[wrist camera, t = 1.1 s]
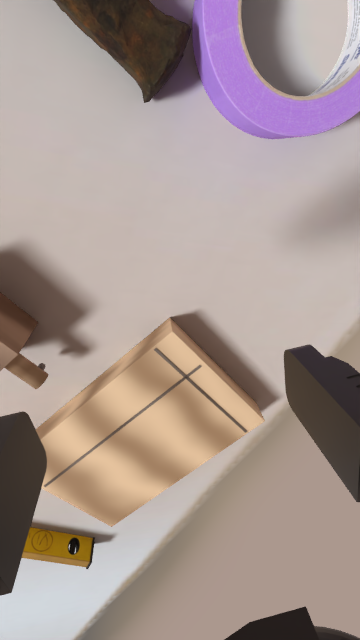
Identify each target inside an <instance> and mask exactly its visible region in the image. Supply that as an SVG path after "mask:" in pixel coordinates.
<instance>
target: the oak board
mask: <svg viewBox="0 0 360 640" xmlns="http://www.w3.org/2000/svg"><path fill="white" fill-rule="evenodd" d="M264 421H265V420H264V418H263V416H262V414H261V412H260V410H259V408H258V405H257V403H256V402H255V401H254V400H253V399H252V398H251V397H250V396H249V395H248V394H247V393H246V392H245V391H244V390H243V389H242V388H241V387H240V386H239V385H238V384H237V383H236V382H234V381H233V380H232V379H231V378H230V377H229V376H228V375H227V374H226V373H225V372H224V371H223V370H222V369H221V368H220V367H219V366H218V365H217V364H216V363H215V362H214V361H213V360H212V359H211V358H210V357H209V356H208V355H207V354H206V353H205V352H204V351H203V350H202V349H201V348H200V347H199V346H198V345H197V344H196V343H195V342H194V341H193V340H192V339H191V338H190V337H189V336H188V335H187V334H186V333H185V332H184V331H183V330H182V329H181V328H180V327H179V326H178V325H177V324H176V323H175V322H174V321H173V320H172V319H171V318H169V319H167V320H166V321H165V322H164V323H163V324H161V325H160V326H159V327H158V328H157V329H155V330H154V331H153V332H152V333H151V334H149V335H148V336H147V337H146V338H145V339H143V340H142V341H141V342H140V343H139V344H137V345H136V346H135V347H134V348H133V349H132V350H130V351H129V352H128V353H127V354H126V355H124V356H123V357H122V358H121V359H120V360H118V361H117V362H116V363H115V364H114V365H112V366H111V367H110V368H109V369H108V370H106V371H105V372H104V373H103V374H102V375H100V376H99V377H98V378H97V379H96V380H94V381H93V382H92V383H91V384H90V385H88V386H87V387H86V388H85V389H84V390H82V391H81V392H80V393H79V394H78V395H77V396H75V397H74V398H73V399H72V400H71V401H69V402H68V403H67V404H66V405H65V406H63V407H62V408H61V409H60V410H59V411H57V412H56V413H55V414H54V415H53V416H51V417H50V418H49V419H48V420H47V421H45V422H44V423H43V424H42V425H41V426H39V427H38V428H37V429H36V432H37V434H38V436H39V438H40V440H41V442H42V444H43V446H44V449H45V451H46V456H47V469H46V473H45V477H44V480H43V484H42V487H41V488H42V489H44V490H46V491H48V492H50V493H51V494H53V495H55V496H57V497H59V498H60V499H62V500H64V501H66V502H68V503H69V504H71V505H73V506H75V507H77V508H78V509H80V510H82V511H84V512H86V513H88V514H89V515H91V516H93V517H95V518H97V519H98V520H100V521H102V522H104V523H106V524H107V525H109V526H111V527H112V526H113V525H115V524H116V523H118V522H119V521H121V520H122V519H124V518H125V517H127V516H128V515H129V514H131V513H132V512H134V511H135V510H137V509H138V508H140V507H141V506H142V505H144V504H145V503H147V502H148V501H150V500H151V499H153V498H154V497H155V496H157V495H158V494H160V493H161V492H163V491H164V490H166V489H167V488H169V487H170V486H171V485H173V484H174V483H176V482H177V481H179V480H180V479H182V478H183V477H184V476H186V475H187V474H189V473H190V472H192V471H193V470H195V469H196V468H197V467H199V466H200V465H202V464H203V463H205V462H206V461H208V460H209V459H211V458H212V457H213V456H215V455H216V454H218V453H219V452H221V451H222V450H224V449H225V448H226V447H228V446H229V445H231V444H232V443H234V442H235V441H237V440H238V439H240V438H241V437H242V436H244V435H245V434H247V433H248V432H250V431H251V430H253V429H254V428H255V427H257V426H258V425H260V424H261V423H263V422H264Z"/></svg>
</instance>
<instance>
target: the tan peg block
mask: <svg viewBox="0 0 360 640" xmlns="http://www.w3.org/2000/svg"><path fill="white" fill-rule="evenodd" d="M37 324H38V322H37V321H36V320H35V319H33V318H32V317H31V316H30V315H28V314H27V313H26V312H25V311H23V310H22V309H21V308H20V307H18V306H17V305H16V304H15V303H13V302H12V301H11V300H9V299H8V298H7V297H6V296H4V295H3V294H2V293H1V292H0V371H1V370H2V369H3V368H6V369H7V370H9V371H10V372H12V373H13V374H15V375H16V376H17V377H19V378H20V379H22V380H23V381H25V382H26V383H28V384H29V385H30V386H32V387H33V388H35V389H37V388H39V387H40V386H41V385H42V384H43V383H44V381H45V380H46V379H47V377H48V374H47V373H46V372H45V371H44V369H45V364H43V363H41V364H39V366H36V365H35V364H34V363H32V362H31V361H29V360H28V359H27V358H25V357H24V356H23V355H21V354H20V353H19V352H20V351H21V349H22V347H23V346H24V344H25V343H26V341H27V340H28V338H29V336H30V335H31V333H32V332H33V330H34V328H35V327H36V325H37Z"/></svg>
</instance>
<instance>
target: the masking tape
mask: <svg viewBox="0 0 360 640" xmlns="http://www.w3.org/2000/svg"><path fill="white" fill-rule="evenodd" d="M347 3H348V25H347V32H346V38H345V42H344V46H343V48H342V51H341V54H340V56H339V59H338V61H337V63H336V65H335V66H334V68H333V70H332V71H331V73H330V74H329V76H328V77H327V78H326V80H325V81H324V82H323V83H322V84H321V85H320V86H319V87H318V88H317V89H316V90H315V91H313V92H312V93H311V94H310V95H308V96H293V95H289V94H286V93H284V92H281V91H279V90H277V89H276V88H274V87H273V86H271V85H270V84H269V83H268V82H267V81H266V80H265V79H264V78H263V77H262V76H261V75H260V73H259V72H258V71H257V69H256V68H255V66H254V64H253V62H252V60H251V58H250V55H249V52H248V50H247V47H246V44H245V40H244V35H243V29H242V17H241V7H242V0H195V2H194V8H193V21H192V37H193V49H194V55H195V60H196V65H197V69H198V72H199V75H200V78H201V81H202V84H203V86H204V88H205V90H206V92H207V94H208V96H209V98H210V100H211V101H212V103H213V104H214V106H215V107H216V108H217V110H218V111H219V112H220V113H221V114H222V115H223V116H224V117H225V118H226V119H227V120H228V121H229V122H230V123H231V124H233V125H234V126H236V127H237V128H239V129H240V130H242V131H244V132H246V133H249V134H251V135H253V136H257V137H261V138H268V139H282V138H292V137H302V136H309V135H314V134H318V133H322V132H325V131H328V130H330V129H332V128H334V127H337V126H339V125H340V124H342V123H344V122H345V121H347V120H348V119H350V118H351V117H353V116H354V115H356V114H357V113H358V112H359V111H360V0H347Z"/></svg>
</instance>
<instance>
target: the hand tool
mask: <svg viewBox="0 0 360 640" xmlns="http://www.w3.org/2000/svg"><path fill="white" fill-rule="evenodd" d="M54 1H55V2H56V3H57V5H58V6H59V7H60V9H61V10H62V11H63V12H65V13H66V14H67V15H68V16H69V18H70V19H71V20H72V21H73V22H74V23H75V24H76V25H77V26H78V27H79V28H80V29H81V30H82V31H83V32H84V33H85V34H86V35H87V36H89V37H90V38H91V39H92V40H93V41H94V42H95V43H96V44H97V45H98V46H99V47H100V48H102V49H104V50H106V51H107V52H108V53H109V54H110V55H111V56H112V57H113V58H114V59H115V60H116V61H117V62H118V63H119V64H120V65H121V66H122V67H123V68H124V69H125V70H126V71H127V72H128V73H129V74H130V75H131V76H132V77H133V78H134V79H135V80H136V82H137V83H138V85H139V86H140V88H141V90H142V93H143V99H144V103H145V102H149V101H150V100H151V98H152V97H153V96H155V94H156V93H157V92H158V91H159V90H160V89H161V88H162V86H163V85H164V84H165V82H166V81H167V80H168V79H169V77H170V76H171V74H172V73H173V71H174V70H175V69H176V68H177V66H178V64H179V62H180V60H181V58H182V57H183V52H184V49H185V47H186V44H187V41H188V38H189V36H190V32H191V28H190V26H189V25H188V24H186V23H184V22H181V21H178V20H176V19H175V18H173V17H172V16H167V15H165V14H164V13H162V12H161V11H159V10H158V9H156V8H155V7H154V6H153V5H152V4H151V3H150V1H149V0H54Z"/></svg>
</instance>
